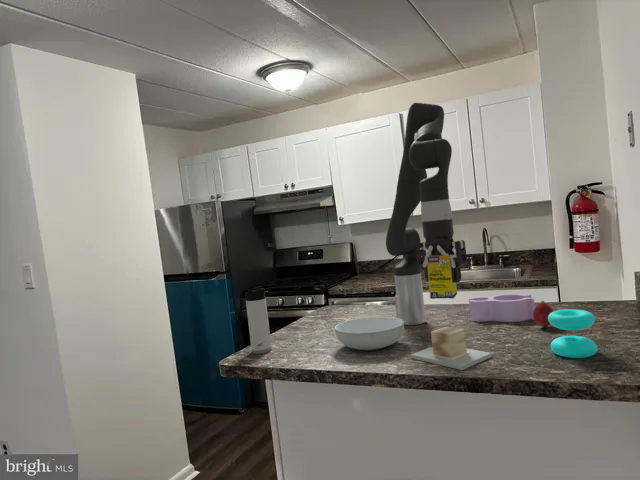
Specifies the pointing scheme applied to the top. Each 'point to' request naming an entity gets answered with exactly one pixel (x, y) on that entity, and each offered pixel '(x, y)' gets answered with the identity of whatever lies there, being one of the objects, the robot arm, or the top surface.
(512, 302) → the purple cup holder
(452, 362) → the board
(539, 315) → the onion
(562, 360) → the top surface
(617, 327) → the top surface
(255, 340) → the travel mug
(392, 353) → the top surface
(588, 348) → the donuts
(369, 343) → the serving bowl
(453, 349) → the block
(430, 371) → the top surface
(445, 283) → the supplement box
